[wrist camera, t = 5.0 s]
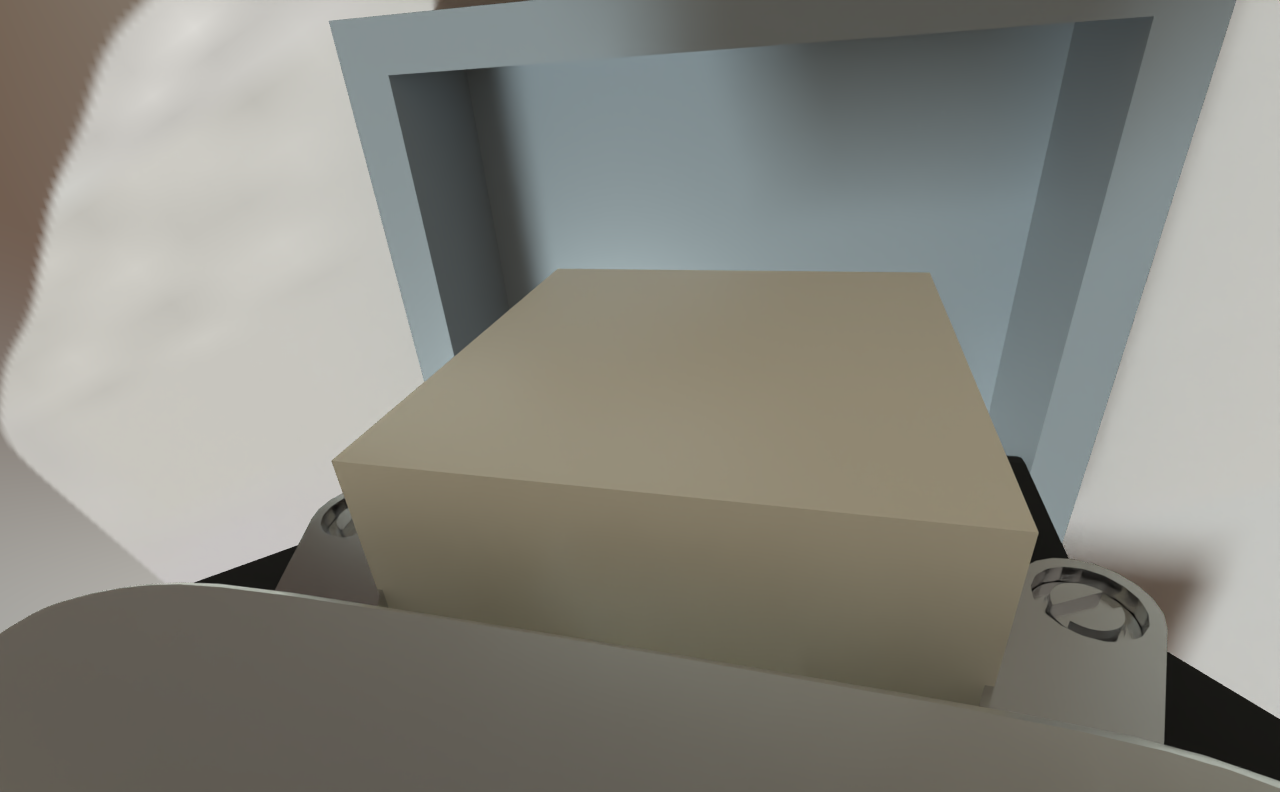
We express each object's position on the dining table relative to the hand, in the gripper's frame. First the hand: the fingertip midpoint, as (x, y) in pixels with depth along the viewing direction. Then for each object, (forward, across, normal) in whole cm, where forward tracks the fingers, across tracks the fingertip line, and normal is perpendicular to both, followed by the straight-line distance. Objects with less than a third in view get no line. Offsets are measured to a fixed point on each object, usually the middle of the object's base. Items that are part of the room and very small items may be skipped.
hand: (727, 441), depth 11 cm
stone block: (0, 0, 0) cm, 0 cm away
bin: (+10, +1, +2) cm, 10 cm away
